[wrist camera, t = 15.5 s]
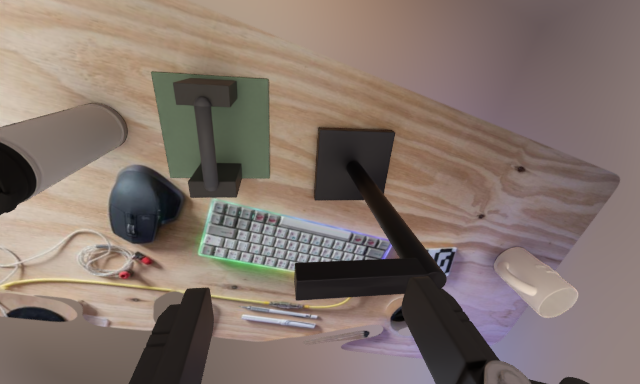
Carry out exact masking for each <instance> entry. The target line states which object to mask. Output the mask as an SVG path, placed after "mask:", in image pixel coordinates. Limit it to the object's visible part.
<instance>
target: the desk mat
mask: <svg viewBox="0 0 640 384" xmlns="http://www.w3.org/2000/svg"><path fill="white" fill-rule="evenodd" d="M151 74H152V80H153V85H154V91H155V96H156V102H157V107H158V112H159V118H160V123H161V129H162V134H163V140H164V145H165V150H166V156H167V161H168V167H169V172H170V178H191V177H192V175H193V174H194V172H195V171H196V169H197V168H198V166H199V165H200V164H201V158H200V150H199V142H198V134H197V127H196V119H195V111H194V106H191V105H176V101H175V94H174V88H173V82H177V81H181V80H184V79H188V78H202V79H219V80H235V81H237V98H238V99H237V100H236V101H235V102H234V103H233V105H232V106H231V107H213V106H211V112H212V122H213V132H214V142H215V152H216V162H217V163H241V165H242V178H270V170H269V87H268V79H261V78H245V77H229V76H213V75H197V74H181V73H165V72H151Z"/></svg>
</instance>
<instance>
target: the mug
mask: <svg viewBox="0 0 640 384" xmlns="http://www.w3.org/2000/svg"><path fill="white" fill-rule="evenodd" d="M494 269H495V272H496V273H497V274H498V275H499V276H500V277H501V278H502V279H503V280H504V281H505V282H506V283H507V284H508V285H509V286H510V287H511V288H512V289H513V290H514V291H515V292H516V293H517V294H518V295H519V296H520V297H521V298H522V299H523V300H524V301H525V302H526V303H527V304H529V305H530V306H531V307H532V308H533V309H534V310H535V311H536V312H537V313H538V314H539V315H540V316H542V317H545V318H551V317H555V316H558V315H560V314H562V313H564V312H566V311H567V310H568V309H570V308H571V307H572V306H573V305H574V304H575V302H576V300H577V298H578V292H577V290H576V289H575V288H574V287H573V286H571V285H570V284H569V283H568V282H566V281H565V280H564V279H563V278H561V277H560V275H559V274H558V273H557V272H556V271H553V269H552V268H551V267H549V266H548V265H546V264H543V263H542V262H541V261H540V260H538V259H537V258H536V257H534V256H533V255H532V254H531V253H529V252H528V251H527V250H525V249H524V248H521V247H513V248H510V249H508V250H506V251H504V252H503V253H501V254H500V255H499V256H498V258H497V259H496V261H495V263H494Z"/></svg>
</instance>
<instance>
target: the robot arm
mask: <svg viewBox="0 0 640 384" xmlns="http://www.w3.org/2000/svg"><path fill="white" fill-rule="evenodd" d="M402 313H403V317H404V319H405V321H406V323H407V325H408V327H409V330H410V332H411V334H412V336H413V338H414V340H415V342H416V344H417V346H418V348H419V350H420V352H421V354H422V356H423V358H424V360H425V363H426V365H427V367H428V369H429V371H430V373H431V375H432V377H433V379H434V381H435V383H436V384H546V383H542V382H537V381H533V380H529V379H528V378H527V377H526V376H525V375H524V374H523V373H522V372H521V371H519V370H518V369H517V368H515V367H514V366H512V365H510V364H508V363H506V362H502V361H500V360H499V359H498V357H497V356H496V355H495V353H494V352H493V351H492V349H491V348H490V347H489V345H488V344H487V342H486V341H485V340H484V338H483V337H482V336H481V334H480V333H479V331H478V330H477V329H476V327H475V326H474V325H473V323H472V322H471V321H469V318H468V316H467V315H466V314H465V312H463V311H462V308H461V307H460V306H459V304H458V303H457V301H456V300H455V299H454V298H453V297H452V296H451V295H450V294H448V293H447V292H446V291H445V290H443V289H438V288H437V286H436V285H435V283H434V282H433V280H432V279H431V278H430V277H411V278H410V279H409V280H408V284H407V287H406V291H405V294H404V298H403V302H402ZM213 323H214V316H213V309H212V302H211V295H210V289H209V288H192V289H187V290H186V291H185V294H184V296H183V299H182V302H181V304H177V305H170V306H169V307H168V308H167V309H166V310H165V311H164V312H163V313H162V314H161V315H160V316H159V317H158V319H157V322H156V324H155V326H154V328H153V331H152V335H150V337H149V340H148V342H147V345H146V348H145V349H144V351H143V353H142V355H141V358H140V360H139V362H138V364H137V367H136V369H135V371H134V373H133V376H132V378H131V380H130V382H129V384H201V380H202V376H203V372H204V368H205V363H206V359H207V354H208V350H209V345H210V341H211V337H212V332H213ZM559 384H589V383H587V382H585V381H583V380H580V379H577V378H573V377H567V378H564V379H563V380H562V381H561V382H560V383H559Z"/></svg>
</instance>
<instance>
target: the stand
mask: <svg viewBox="0 0 640 384" xmlns="http://www.w3.org/2000/svg"><path fill="white" fill-rule="evenodd" d="M394 136H395V132H394V131H392V130H375V129H348V128H320V127H319V128H318V141H317V156H316V171H315V186H314V199H315V200H365V202H366V203H367V205H368V206H369V208H370V210H371V211H372V213H373V215H374V216H375V218H376V220H377V221H378V223H379V225H380V226H381V228H382V229H383V231H384V233H385V234H386V236H387V238H388V239H389V241H390V243H391V244H392V246H393V248H394V249H395V251H396V252H397V254H398V256H399V257H400V259H378V260H354V261H330V262H307V263H295V278H294V283H295V296H296V300H313V299H329V298H344V297H360V296H376V295H391V294H405V291H406V287H407V284H408V280H409V279H410V278H411V277H430V278H431V279H432V280H433V282H434V283H435V285H436V286H437V288H438V289H441V288H442V287H443V286H444V285H445V283H446V275H445V274H444V272H443V271H442V270H441V269H440V267H439V266H438V265H437V263H436V262H435V261H434V259H433V258H432V257H431V256H430V254H429V253H428V252H427V250H426V249H425V248H424V246H423V245H422V244H421V242H420V241H419V240H418V239H417V237H416V236H415V235H414V233H413V232H412V231H411V229H410V228H409V227H408V226H407V224H406V223H405V222H404V220H403V219H402V218H401V216H400V215H399V214H398V213H397V211H396V210H395V209H394V207H393V206H392V205H391V203H390V202H389V201H388V200H387V198H386V197H385V196H384V189H385V183H386V178H387V173H388V168H389V162H390V157H391V152H392V147H393V141H394Z"/></svg>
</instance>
